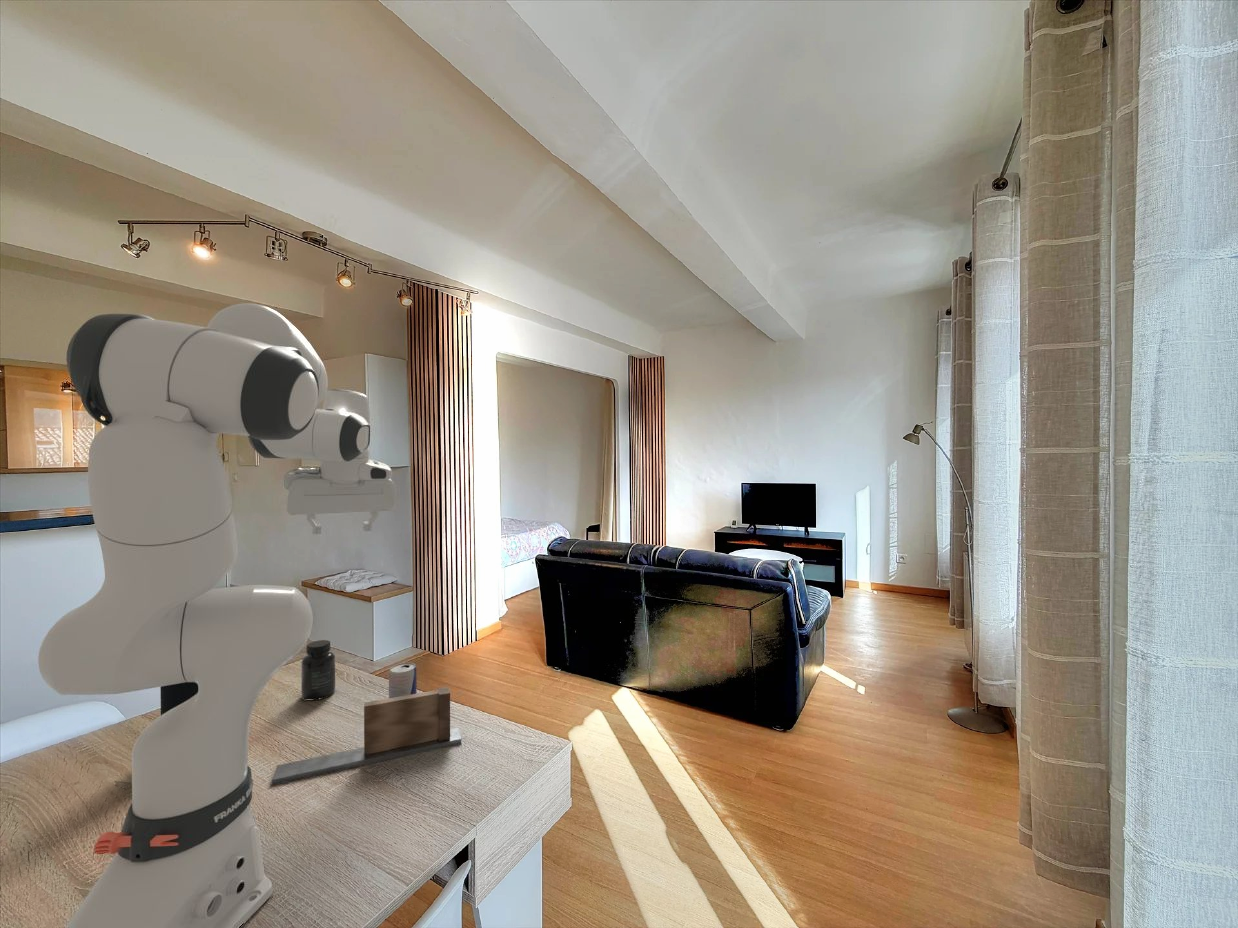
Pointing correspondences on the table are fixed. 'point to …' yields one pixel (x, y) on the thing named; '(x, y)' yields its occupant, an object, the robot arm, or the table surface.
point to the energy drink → (402, 680)
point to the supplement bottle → (318, 670)
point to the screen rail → (353, 759)
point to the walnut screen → (406, 720)
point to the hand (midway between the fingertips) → (342, 531)
